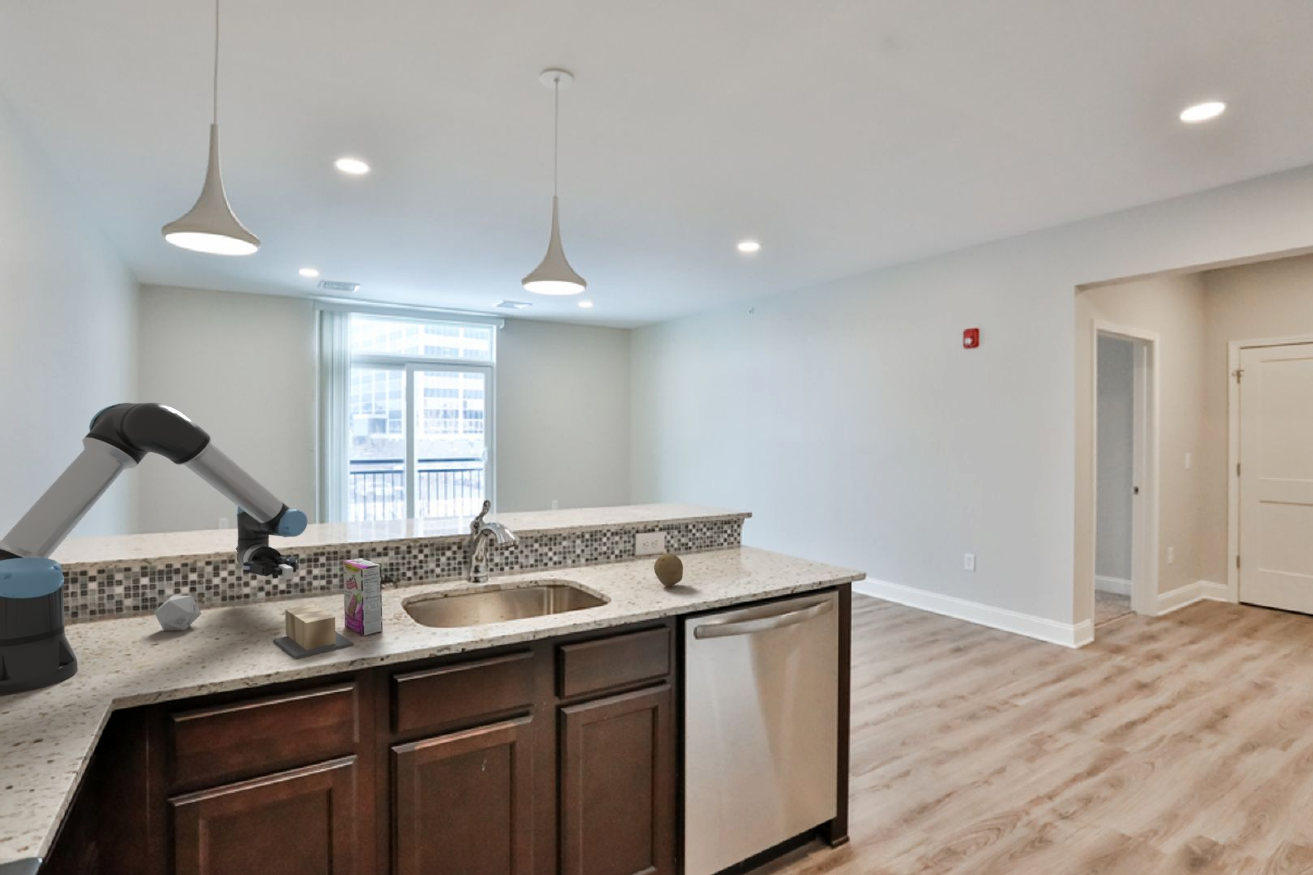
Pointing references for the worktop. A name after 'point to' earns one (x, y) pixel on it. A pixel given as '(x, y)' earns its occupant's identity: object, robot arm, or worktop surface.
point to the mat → (300, 652)
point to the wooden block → (310, 626)
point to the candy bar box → (362, 596)
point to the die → (177, 613)
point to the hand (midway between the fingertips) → (289, 573)
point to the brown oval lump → (668, 569)
